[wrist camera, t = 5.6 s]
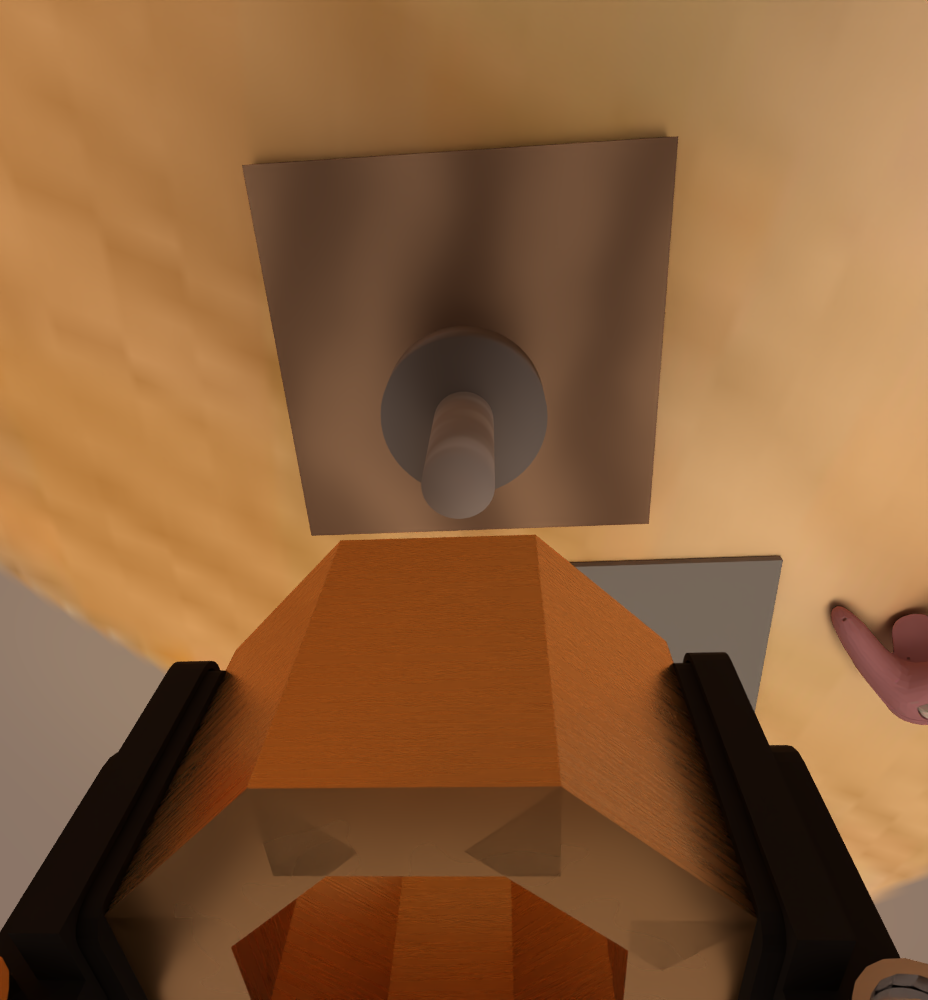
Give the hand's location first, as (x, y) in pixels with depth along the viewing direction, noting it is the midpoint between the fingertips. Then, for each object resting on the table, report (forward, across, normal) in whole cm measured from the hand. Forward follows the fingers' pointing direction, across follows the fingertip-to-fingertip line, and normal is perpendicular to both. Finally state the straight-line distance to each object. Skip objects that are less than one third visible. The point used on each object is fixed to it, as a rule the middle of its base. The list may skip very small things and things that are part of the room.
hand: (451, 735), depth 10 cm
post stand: (+22, 0, 0) cm, 22 cm away
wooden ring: (0, 0, 0) cm, 0 cm away
